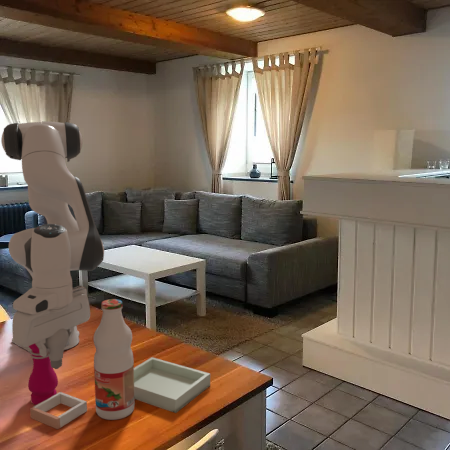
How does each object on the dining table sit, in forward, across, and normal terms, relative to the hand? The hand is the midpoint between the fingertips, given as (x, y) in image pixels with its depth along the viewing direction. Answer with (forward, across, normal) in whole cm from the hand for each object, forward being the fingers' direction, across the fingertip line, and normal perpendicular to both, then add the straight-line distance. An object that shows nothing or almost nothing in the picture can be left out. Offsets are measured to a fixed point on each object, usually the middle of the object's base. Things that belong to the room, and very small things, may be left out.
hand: (55, 350), depth 118 cm
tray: (+16, -23, +14) cm, 32 cm away
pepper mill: (+17, -3, -8) cm, 19 cm away
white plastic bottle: (+17, -8, +11) cm, 22 cm away
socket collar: (+16, 0, +1) cm, 17 cm away
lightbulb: (+5, 0, 0) cm, 5 cm away
